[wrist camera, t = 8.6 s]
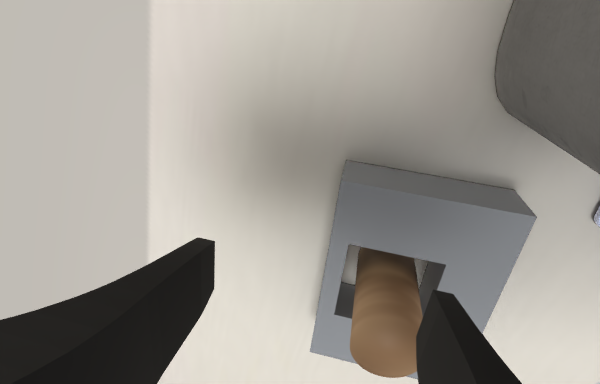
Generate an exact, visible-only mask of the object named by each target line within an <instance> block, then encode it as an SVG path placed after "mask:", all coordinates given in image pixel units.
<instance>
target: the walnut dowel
mask: <svg viewBox="0 0 600 384" xmlns="http://www.w3.org/2000/svg"><path fill="white" fill-rule="evenodd" d="M422 319H423V316H422V309H421V302H420V296H419V289H418V282H417V275H416V268H415V262H414V258H412V257H408V256H403V255H398V254H393V253H389V252H384V251H379V250H374V249H370V248H365V247H362V248H361V250H360V252H359V255H358V264H357V274H356V285H355V295H354V305H353V316H352V326H351V336H350V352H351V355H352V357H353V358H354V360H355V361H356V362H357V363H358V364H359V365H360V366H361V367H362V368H363V369H365V370H367V371H368V372H370V373H373V374H375V375H378V376H383V377H391V378H396V377H404V376H408V375H410V374H413V373H415V372H416V371H417V364H416V335H417V333H418V330H419V327H420V324H421V321H422Z"/></svg>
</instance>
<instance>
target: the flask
mask: <svg viewBox="0 0 600 384" xmlns="http://www.w3.org/2000/svg"><path fill="white" fill-rule="evenodd" d="M495 80H496V88H497V96H498V98H499V100H500V101H501V103H502V104H503V106H504V108H505V109H506V111H507V112H508V113H509V114H511V115H512V116H514V117H515V118H517V119H518V120H520V121H521V122H523V123H524V124H526V125H527V126H529V127H530V128H532V129H533V130H535V131H536V132H538V133H539V134H541V135H542V136H544V137H545V138H547V139H548V140H550V141H551V142H553V143H554V144H556V145H557V146H559V147H560V148H562V149H563V150H565V151H566V152H568V153H569V154H571V155H572V156H574V157H575V158H577V159H578V160H580V161H581V162H583V163H584V164H586V165H587V166H589V167H590V168H592V169H593V170H595V171H596V172H598V173H599V174H600V0H514V2H513V5H512V8H511V11H510V14H509V16H508V19H507V22H506V25H505V29H504V32H503V36H502V39H501V43H500V46H499V49H498V54H497V63H496V72H495Z"/></svg>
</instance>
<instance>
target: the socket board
mask: <svg viewBox="0 0 600 384" xmlns="http://www.w3.org/2000/svg"><path fill="white" fill-rule="evenodd" d="M536 218H537V217H536V215H535V214H534V213H533V212H532V211H531V209H530V208H529V207H528V206H527V205H526V203H525V202H524V201H523V200H522V198H521V197H520V196H519V195H518V194H517V192H516V191H515V190H511V189H505V188H499V187H494V186H488V185H483V184H477V183H471V182H466V181H460V180H455V179H449V178H444V177H438V176H432V175H427V174H421V173H416V172H410V171H405V170H399V169H393V168H388V167H382V166H377V165H371V164H366V163H360V162H354V161H349V160H346V163H345V167H344V171H343V174H342V178H341V183H340V188H339V194H338V200H337V205H336V211H335V216H334V222H333V227H332V233H331V238H330V244H329V249H328V255H327V260H326V266H325V271H324V277H323V282H322V288H321V293H320V299H319V304H318V310H317V315H316V321H315V326H314V332H313V337H312V343H311V348H310V352H313V353H316V354H320V355H324V356H328V357H332V358H336V359H340V360H344V361H348V362H352V363H356V364H358V363H357V362H356V361H355V360H354V358H353V357H352V355H351V352H350V336H351V326H352V316H353V305H354V295H355V286H354V285H350V284H345V283H341V279H342V274H343V269H344V265H345V260H346V255H347V250H348V246H349V244H351V245H355V246H360V247H365V248H370V249H374V250H379V251H384V252H389V253H393V254H398V255H403V256H408V257H412V258H417V259H422V260H427V261H429V262H428V265H427V268H426V271H425V274H424V277H423V280H422V283H421V286H420V289H419V296H420V302H421V309H422V316H424V313H425V310H426V308H427V305H428V302H429V299H430V296H431V294H432V291H433V289H434V290H438V291H443V292H447V293H452V294H454V295H455V297H456V298H457V300H458V301H459V302H460V304H461V305H462V307H463V308H464V309H465V311H466V312H467V314H468V315H469V316H470V318H471V319H472V321H473V322H474V323H475V325H476V326H477V328H478V329H479V330H480V332H481V333H483V331H484V329H485V326H486V324H487V322H488V320H489V318H490V316H491V314H492V312H493V309H494V307H495V305H496V303H497V301H498V299H499V297H500V294H501V292H502V290H503V288H504V286H505V284H506V282H507V280H508V277H509V275H510V273H511V271H512V269H513V267H514V265H515V263H516V260H517V258H518V256H519V254H520V252H521V250H522V248H523V245H524V243H525V241H526V239H527V237H528V235H529V233H530V231H531V228H532V226H533V224H534V222H535V220H536ZM407 377H411V378H415V379H418V375H417V371H416V372H415V373H413V374H410V375H408V376H407Z"/></svg>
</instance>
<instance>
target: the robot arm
mask: <svg viewBox="0 0 600 384" xmlns="http://www.w3.org/2000/svg"><path fill="white" fill-rule="evenodd" d="M594 222H595V223H596V224H597V225H598V226H599V227H600V207H599V209H598V210H597V212H596V214H595V216H594ZM214 259H215V241H211V240H207V239H202V238H196V239H194V240H192V241H190V242H188V243H186V244H185V245H183V246H181V247H179V248H177V249H176V250H174V251H172V252H170V253H169V254H167V255H165V256H163V257H161V258H159V259H157V260H156V261H154V262H152V263H150V264H148V265H146V266H144V267H142V268H140V269H138V270H137V271H134V272H132V273H130V274H128V275H126V276H124V277H122V278H120V279H118V280H116V281H114V282H111V283H109V284H107V285H105V286H102V287H100V288H98V289H95V290H93V291H90V292H87V293H85V294H82V295H80V296H77V297H74V298H71V299H69V300H65V301H62V302H59V303H57V304H53V305H50V306H47V307H44V308H41V309H39V310H35V311H32V312H28V313H25V314H21V315H18V316H14V317H10V318H7V319H3V320H0V384H157V383H158V381H159V379H160V378H161V376H162V374H163V373H164V371H165V370H166V368H167V367H168V365H169V364H170V362H171V361H172V359H173V358H174V356H175V354H176V353H177V351H178V350H179V348H180V347H181V345H182V344H183V342H184V341H185V339H186V338H187V336H188V335H189V333H190V332H191V330H192V329H193V327H194V326H195V324H196V322H197V321H198V319H199V318H200V316H201V315H202V313H203V311H204V309H205V307H206V305H207V303H208V300H209V298H210V296H211V294H212V292H213V290H214ZM416 364H417V375H418V382H419V384H522V383H521V382H520V381H519V380H518V378H517V377H516V376H515V375H514V374H513V372H512V371H511V370H510V369H509V368H508V366H507V365H506V364H505V363H504V362H503V360H502V359H501V358H500V357H499V355H498V354H497V353H496V352H495V350H494V349H493V348H492V346H491V345H490V344H489V342H488V341H487V340H486V338H485V337H484V336H483V334H482V333H481V332H480V330H479V329H478V328H477V326H476V325H475V323H474V322H473V321H472V319H471V318H470V316H469V315H468V314H467V312H466V311H465V309H464V308H463V307H462V305H461V304H460V302H459V301H458V300H457V298H456V297H455V295H454V294H452V293H447V292H443V291H438V290H434V289H433V291H432V294H431V296H430V299H429V302H428V305H427V308H426V310H425V313H424V316H423V319H422V321H421V324H420V327H419V330H418V333H417V335H416Z"/></svg>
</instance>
